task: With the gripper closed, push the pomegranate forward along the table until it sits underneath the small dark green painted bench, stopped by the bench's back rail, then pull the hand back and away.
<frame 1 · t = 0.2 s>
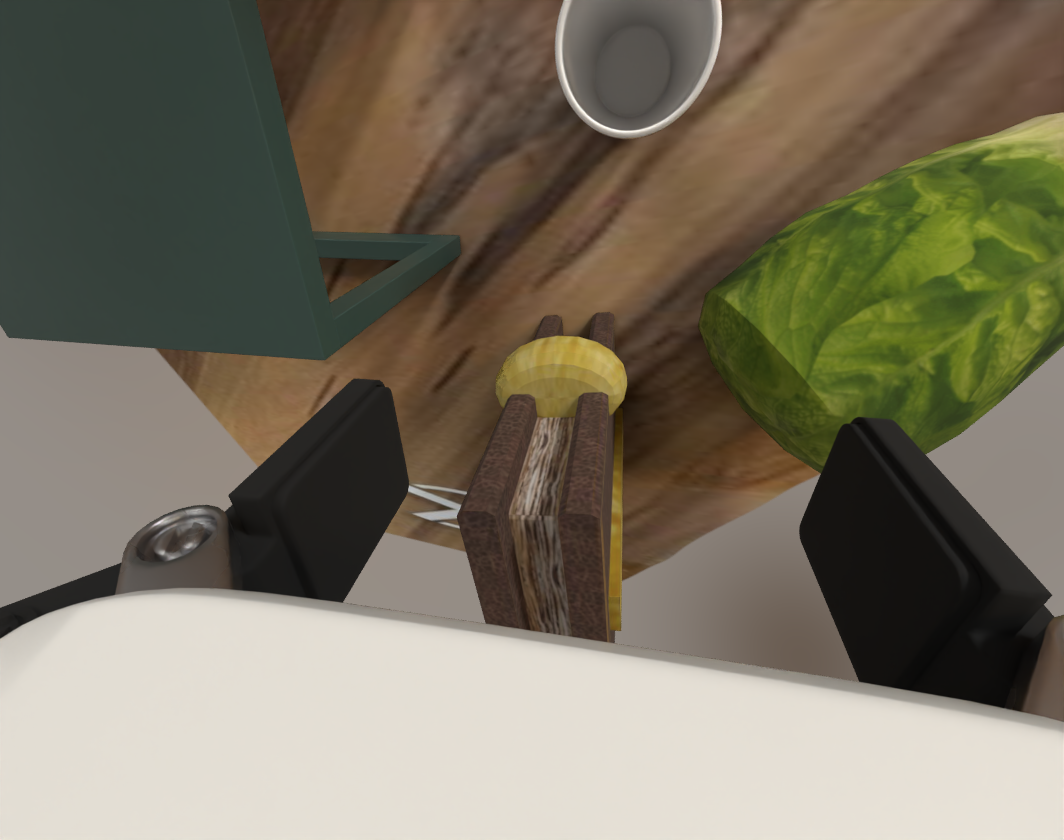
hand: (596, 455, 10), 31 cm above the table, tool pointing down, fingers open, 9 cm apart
white paper cup: (632, 75, 31), on the table
book: (583, 396, 45), on the table
lettuce: (857, 267, 35), on the table
bench: (336, 114, 36), on the table
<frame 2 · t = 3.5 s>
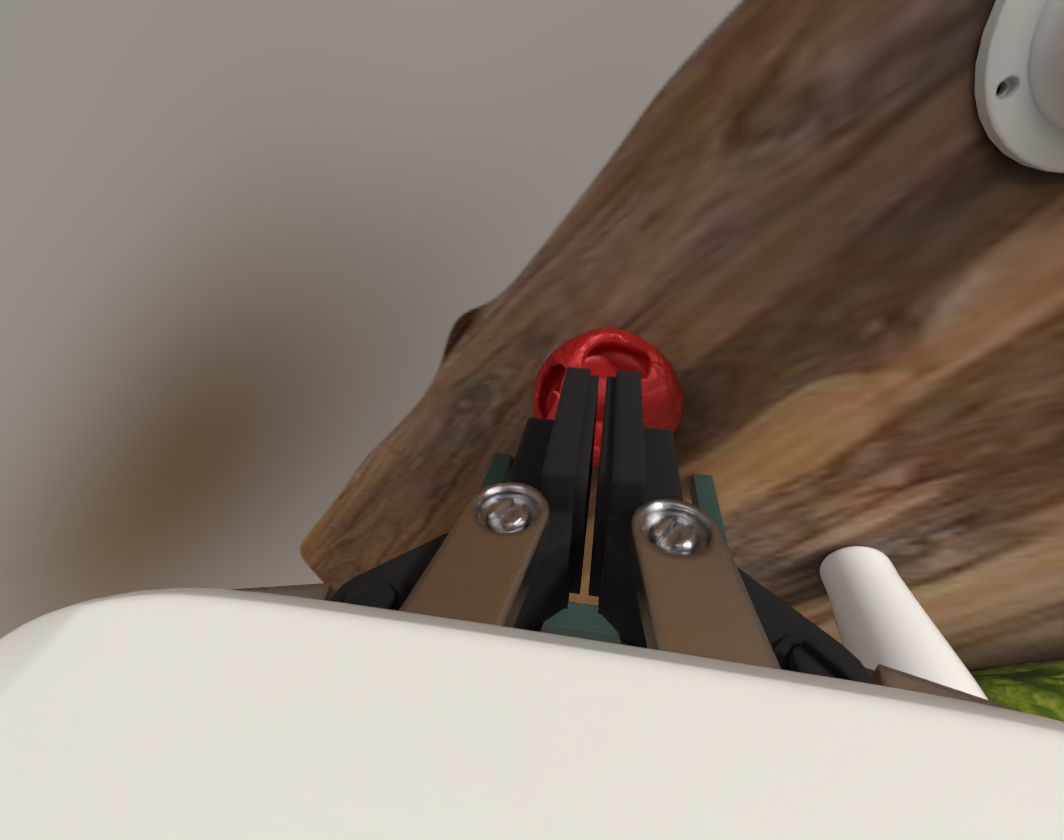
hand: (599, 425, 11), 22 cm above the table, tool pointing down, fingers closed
white paper cup: (851, 562, 40), on the table
lettuce: (1013, 674, 44), on the table
bench: (592, 547, 44), on the table
pomegranate: (607, 377, 35), on the table
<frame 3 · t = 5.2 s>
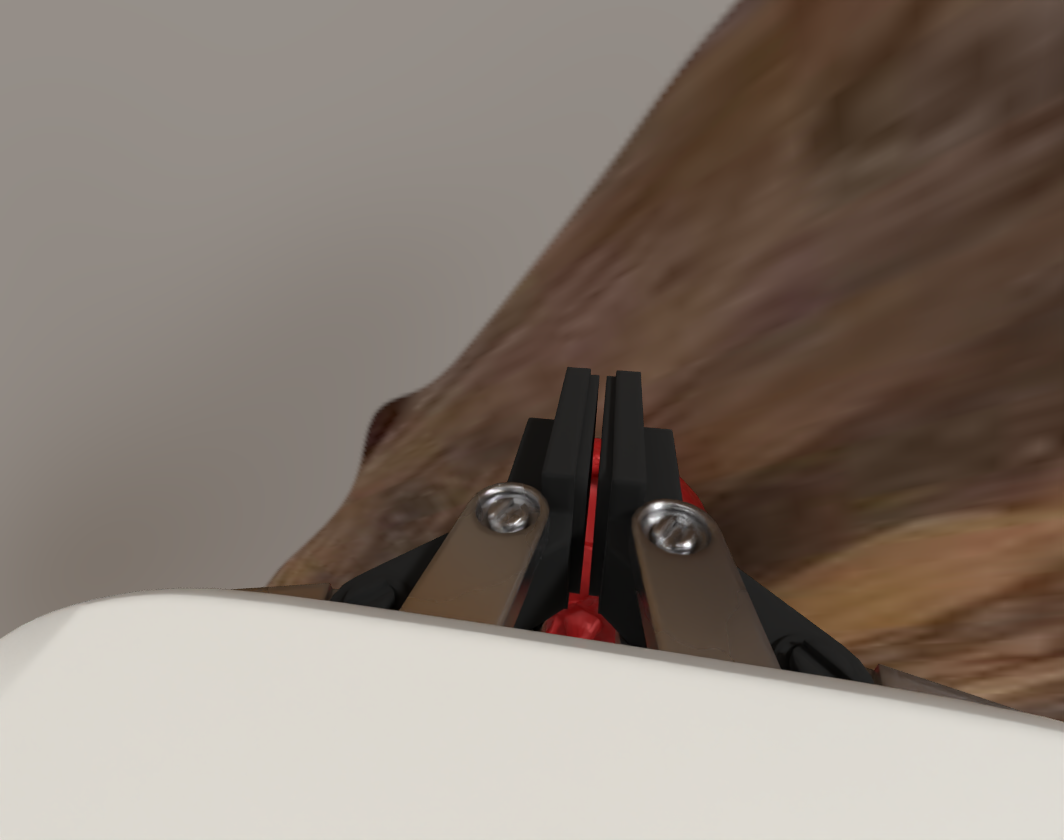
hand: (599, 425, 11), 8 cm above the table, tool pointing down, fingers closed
pomegranate: (601, 495, 23), on the table
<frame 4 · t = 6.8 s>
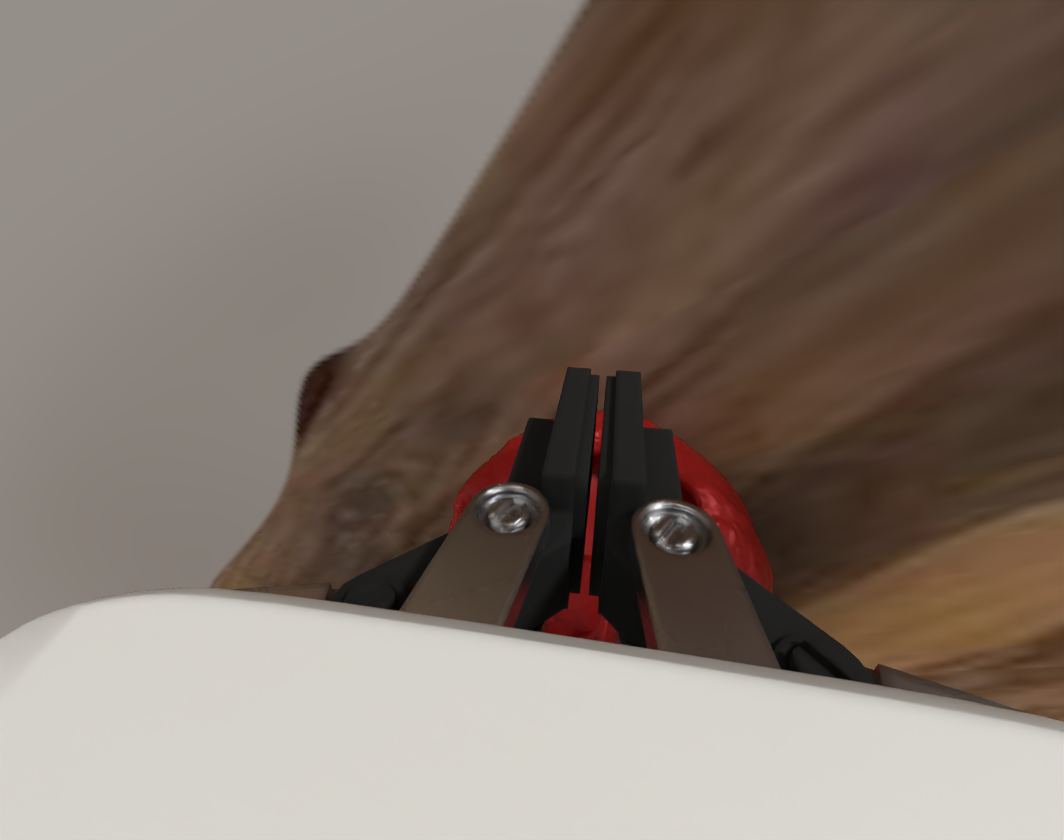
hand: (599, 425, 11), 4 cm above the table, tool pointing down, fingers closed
pomegranate: (600, 490, 18), on the table, touching gripper
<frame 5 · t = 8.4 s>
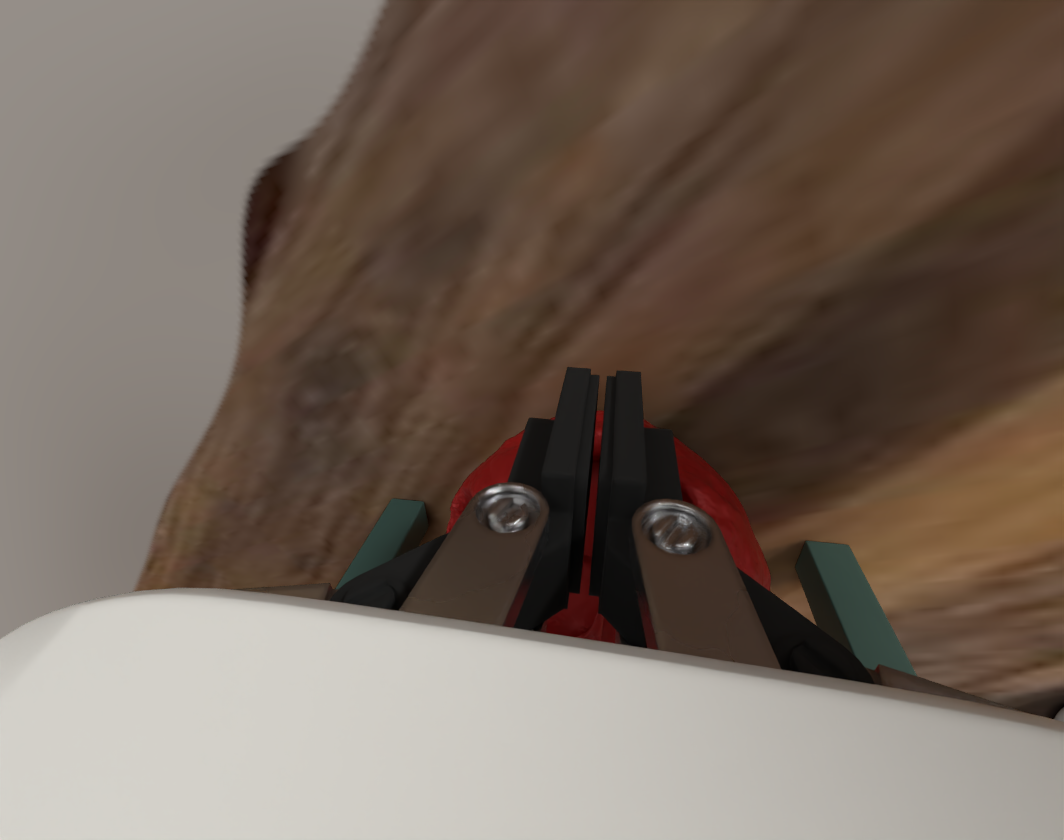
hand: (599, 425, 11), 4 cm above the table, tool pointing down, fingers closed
bench: (592, 661, 24), on the table
pomegranate: (598, 489, 18), on the table, touching gripper
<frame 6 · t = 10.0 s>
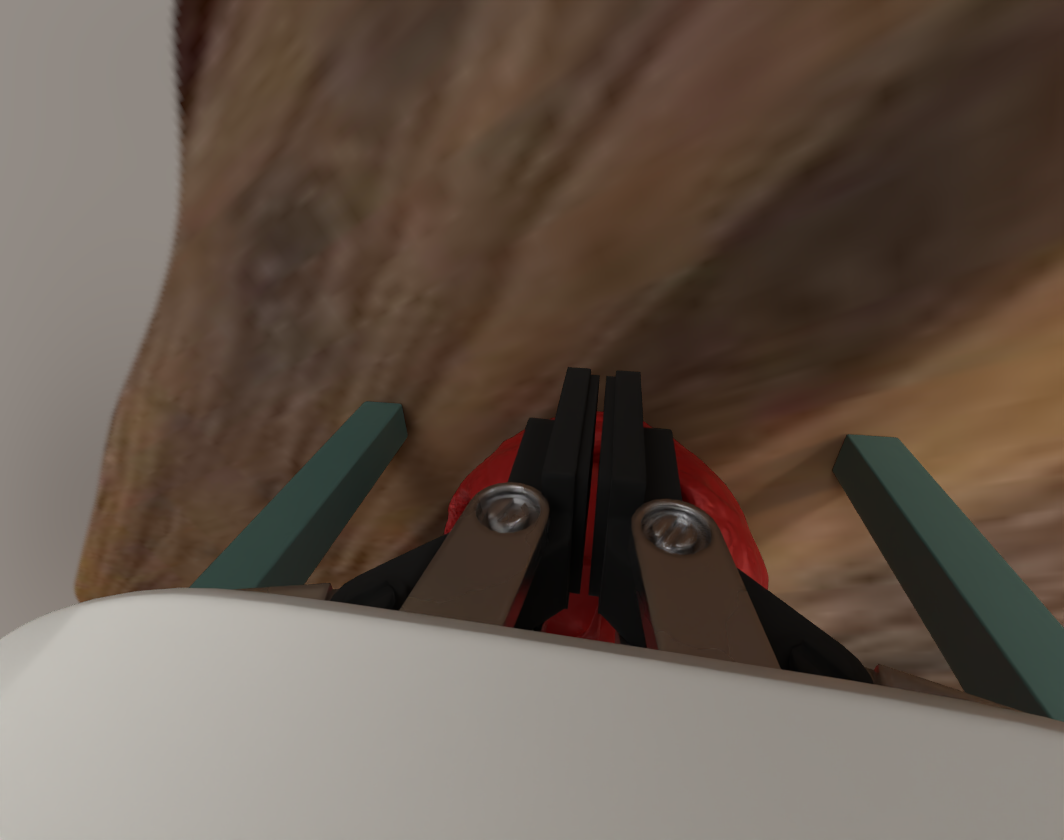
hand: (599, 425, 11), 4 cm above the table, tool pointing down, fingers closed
bench: (594, 602, 21), on the table
pomegranate: (596, 490, 18), on the table, touching gripper
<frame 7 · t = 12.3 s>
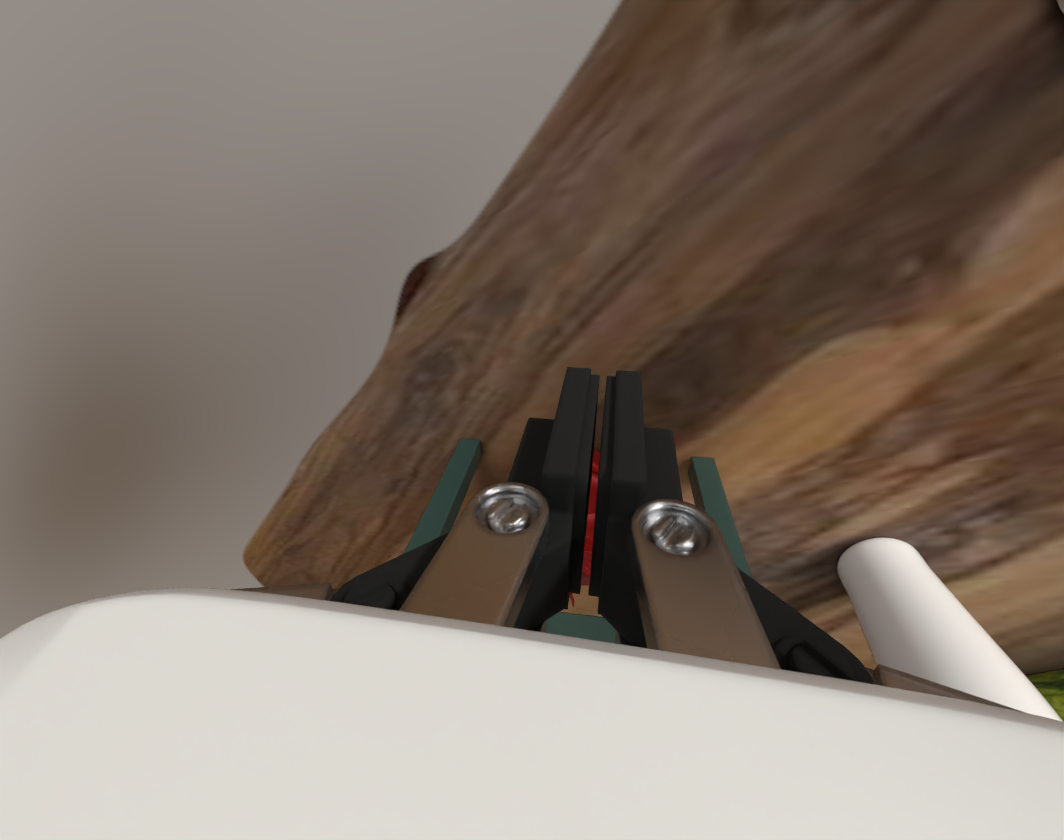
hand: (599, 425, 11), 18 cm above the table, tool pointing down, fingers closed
white paper cup: (872, 557, 35), on the table
lettuce: (1051, 681, 39), on the table
bench: (576, 547, 38), on the table
pomegranate: (577, 484, 35), on the table
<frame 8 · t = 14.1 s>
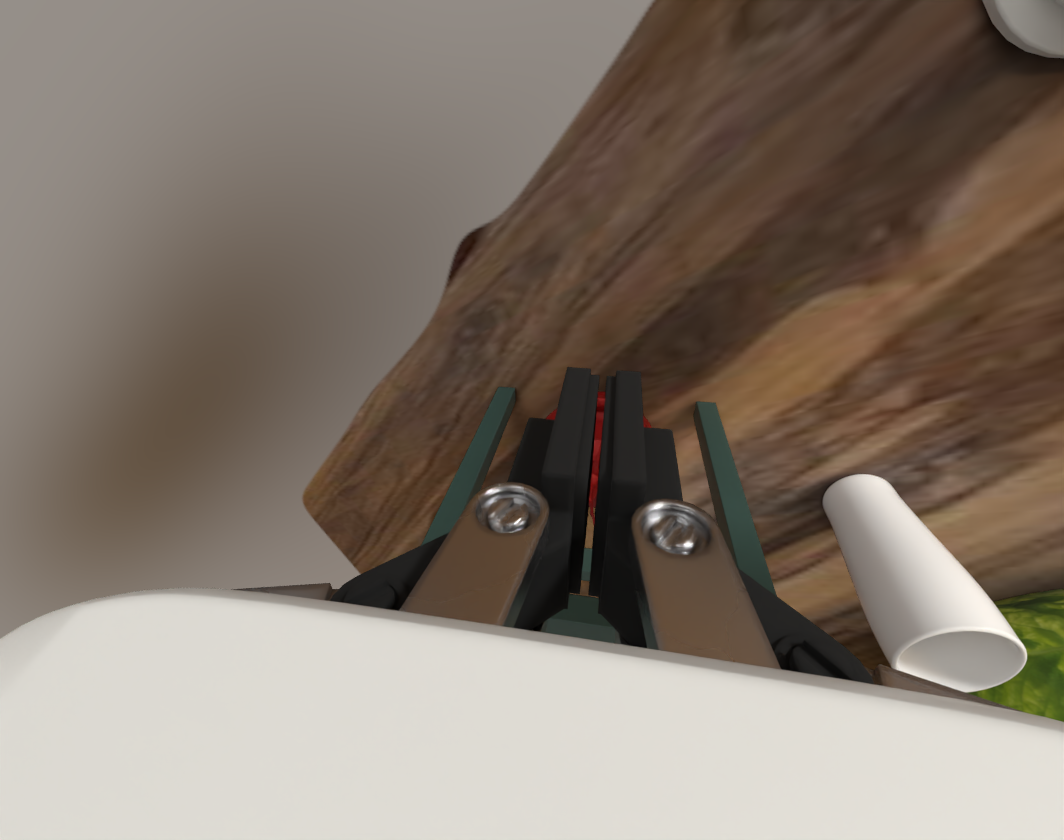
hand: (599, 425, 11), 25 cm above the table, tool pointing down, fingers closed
white paper cup: (853, 493, 40), on the table
lettuce: (1015, 610, 44), on the table
bench: (595, 486, 44), on the table
pomegranate: (597, 428, 41), on the table
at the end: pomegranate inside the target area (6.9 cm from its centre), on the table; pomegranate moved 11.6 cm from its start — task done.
